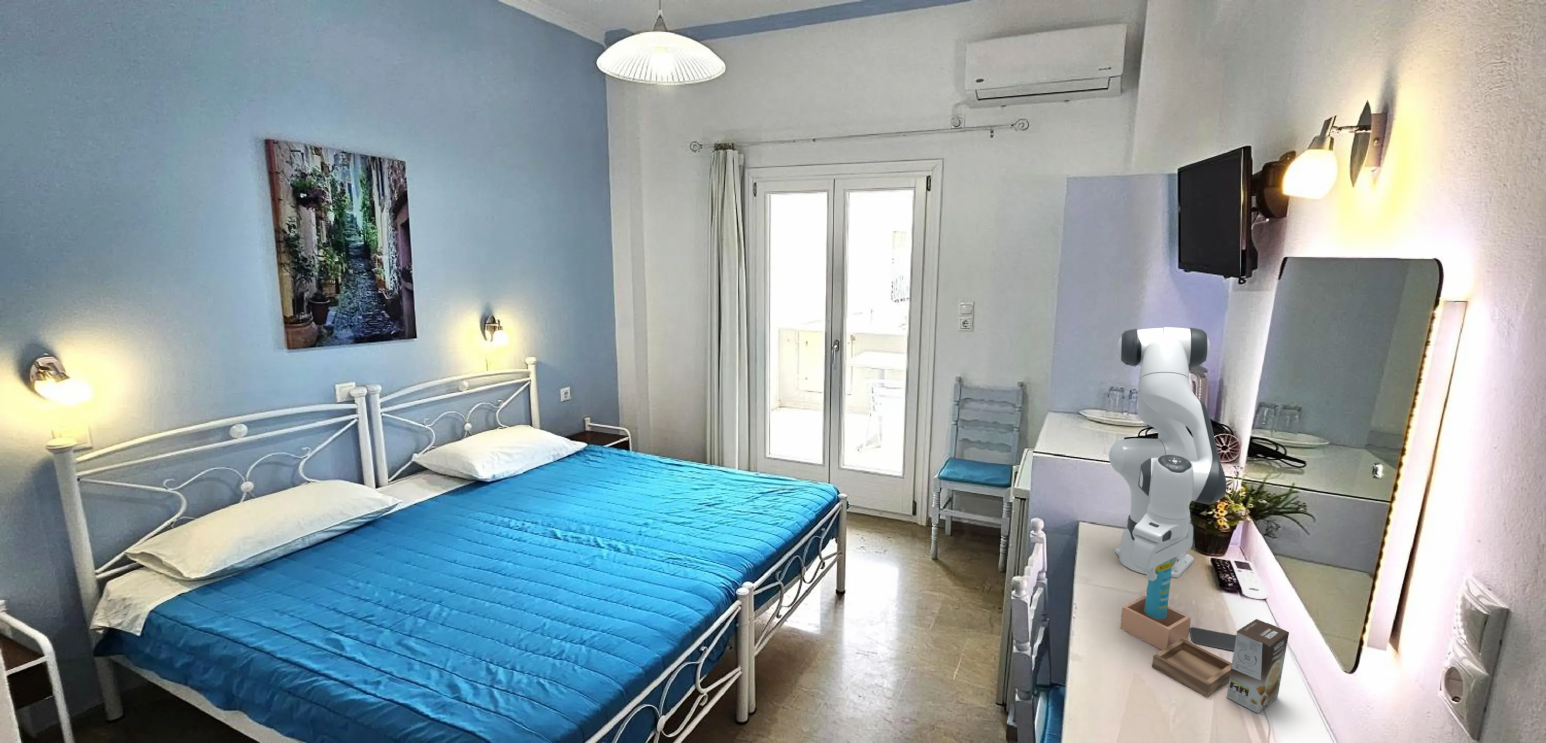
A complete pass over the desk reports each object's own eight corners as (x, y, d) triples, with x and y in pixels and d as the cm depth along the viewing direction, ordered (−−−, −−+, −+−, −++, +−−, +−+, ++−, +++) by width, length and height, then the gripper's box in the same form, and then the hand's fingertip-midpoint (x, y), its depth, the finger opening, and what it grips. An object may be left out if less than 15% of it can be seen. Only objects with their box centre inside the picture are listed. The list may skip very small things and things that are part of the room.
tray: (1180, 649, 162) (1181, 638, 161) (1234, 677, 152) (1236, 665, 151) (1151, 666, 156) (1153, 655, 155) (1206, 696, 146) (1208, 684, 145)
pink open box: (1141, 616, 176) (1144, 595, 174) (1188, 638, 166) (1190, 616, 165) (1120, 628, 171) (1122, 606, 169) (1166, 652, 161) (1169, 629, 160)
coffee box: (1259, 714, 140) (1270, 646, 137) (1225, 697, 146) (1235, 631, 142) (1278, 697, 145) (1290, 631, 142) (1245, 681, 150) (1255, 617, 147)
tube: (1157, 623, 164) (1165, 551, 159) (1137, 614, 168) (1145, 543, 163) (1173, 613, 168) (1182, 542, 163) (1153, 604, 172) (1161, 535, 167)
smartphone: (1188, 625, 171) (1260, 639, 164) (1188, 628, 171) (1259, 642, 164) (1192, 642, 164) (1266, 656, 158) (1191, 645, 164) (1266, 660, 158)
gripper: (1177, 507, 170) (1170, 557, 173) (1129, 528, 159) (1123, 581, 163) (1203, 516, 164) (1196, 567, 168) (1156, 539, 154) (1149, 593, 157)
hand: (1160, 574), depth 165 cm, fingers closed on tube, 6 cm apart
